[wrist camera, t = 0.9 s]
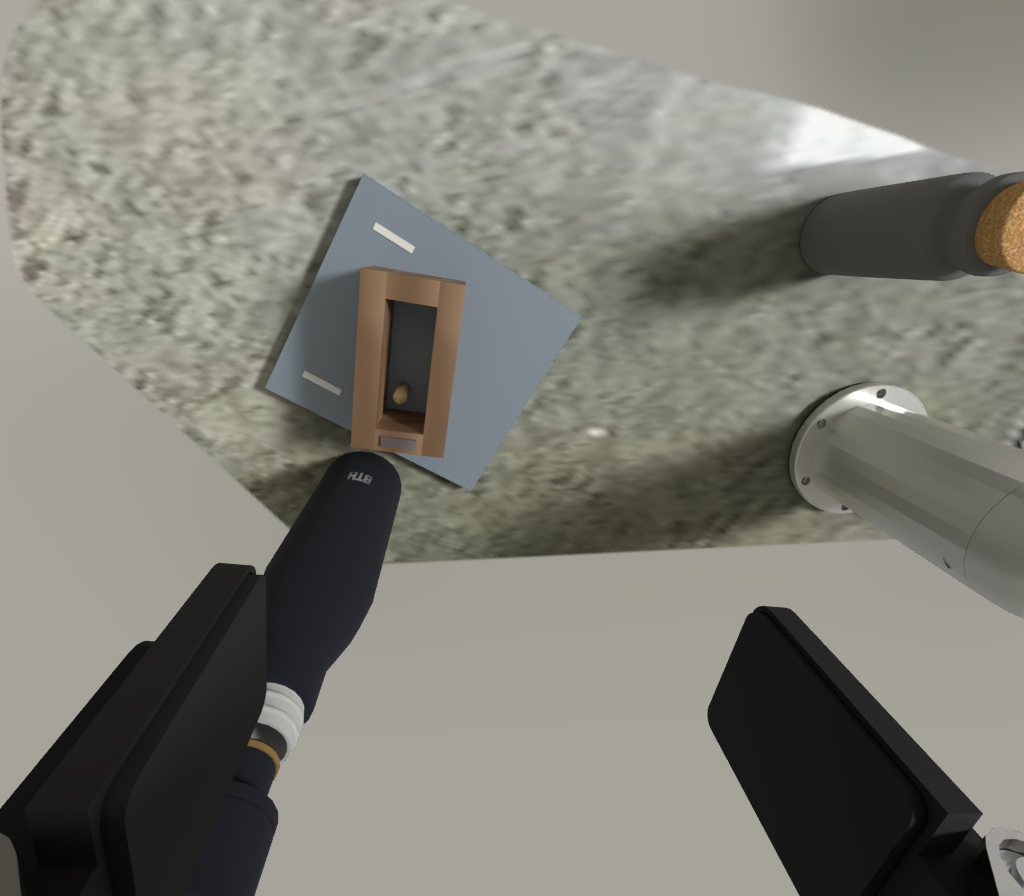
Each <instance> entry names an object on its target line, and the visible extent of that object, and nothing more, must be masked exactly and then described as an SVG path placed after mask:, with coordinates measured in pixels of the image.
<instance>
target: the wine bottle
mask: <svg viewBox="0 0 1024 896" xmlns="http://www.w3.org/2000/svg"><path fill="white" fill-rule="evenodd" d="M400 494H401V481H400V477H399V474H398V473H397V471H396V470H395V468H394V467H393V465H392V464H391V463H389V462H388V461H387V460H386V459H384V458H383V457H381V456H378V455H376V454H374V453H369V452H361V451H359V452H353V453H348V454H346V455H344V456H342V457H340V458H338V459H337V460H336V461H335V462H334V463H333V464H332V465H331V466H330V467H329V469H328V470H327V472H326V473H325V475H324V477H323V478H322V480H321V481H320V483H319V485H318V486H317V488H316V489H315V491H314V493H313V494H312V496H311V497H310V499H309V501H308V502H307V504H306V505H305V507H304V509H303V510H302V512H301V513H300V515H299V516H298V518H297V520H296V521H295V523H294V524H293V526H292V528H291V529H290V531H289V532H288V534H287V536H286V537H285V539H284V540H283V542H282V544H281V545H280V547H279V548H278V550H277V552H276V553H275V555H274V557H273V558H272V560H271V561H270V563H269V564H268V566H267V568H266V570H265V573H264V576H265V578H266V650H267V692H266V698H265V703H264V706H263V709H262V712H261V715H260V717H259V719H258V722H257V724H256V726H255V729H254V731H253V733H252V736H251V738H250V740H249V743H248V745H247V747H246V750H245V752H244V754H243V757H242V759H241V761H240V764H239V766H238V768H237V771H236V773H235V775H234V778H233V780H232V782H231V785H230V787H229V789H228V792H227V794H226V796H225V799H224V801H223V803H222V806H221V808H220V810H219V813H218V815H217V817H216V820H215V822H214V824H213V827H212V829H211V831H210V834H209V836H208V838H207V841H206V843H205V845H204V848H203V850H202V852H201V855H200V857H199V859H198V862H197V864H196V866H195V869H194V871H193V873H192V876H191V878H190V880H189V883H188V885H187V887H186V890H185V892H184V894H183V896H254V895H255V892H256V889H257V886H258V883H259V880H260V877H261V874H262V870H263V868H264V864H265V862H266V858H267V855H268V852H269V849H270V846H271V843H272V840H273V836H274V834H275V831H276V827H277V825H278V811H277V809H276V807H275V805H274V803H273V801H272V800H271V799H270V798H269V797H268V796H267V795H268V793H269V790H270V787H271V784H272V782H273V780H274V779H275V777H276V775H277V773H278V771H279V768H280V764H281V763H283V762H284V761H285V760H286V759H287V757H288V755H289V753H290V752H291V751H292V750H293V749H294V748H295V746H296V744H297V742H298V737H299V733H300V731H301V729H302V727H303V725H304V724H305V723H306V722H307V721H308V720H309V718H310V716H311V714H312V712H313V710H314V707H315V704H316V701H317V698H318V695H319V692H320V689H321V686H322V683H323V680H324V677H325V674H326V671H327V670H328V669H329V668H330V667H331V665H332V664H333V663H334V662H335V661H336V660H337V658H338V657H339V656H340V655H341V654H342V652H343V651H344V650H345V649H346V648H347V646H348V645H349V644H350V642H351V641H352V639H353V638H354V636H355V635H356V633H357V631H358V630H359V628H360V626H361V624H362V622H363V620H364V618H365V616H366V614H367V613H368V611H369V608H370V607H371V605H372V603H373V599H374V594H375V591H376V587H377V583H378V579H379V575H380V572H381V568H382V564H383V560H384V556H385V553H386V549H387V545H388V541H389V537H390V533H391V529H392V526H393V522H394V518H395V514H396V510H397V506H398V503H399V499H400Z"/></svg>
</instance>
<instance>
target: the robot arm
mask: <svg viewBox="0 0 1024 896" xmlns="http://www.w3.org/2000/svg"><path fill="white" fill-rule="evenodd" d="M789 469H790V476H791V480H792V482H793V485H794V487H795V489H796V490H797V492H798V493H799V494H800V496H801V497H803V498H804V499H805V500H806V501H808V502H809V503H810V504H812V505H813V506H815V507H817V508H818V509H821V510H824V511H827V512H832V513H852V512H855V513H856V514H858V515H859V516H861V517H862V518H864V519H865V520H867V521H868V522H870V523H871V524H873V525H874V526H876V527H877V528H879V529H880V530H882V531H883V532H885V533H887V534H888V535H890V536H891V537H893V538H894V539H896V540H897V541H899V542H900V543H902V544H903V545H905V546H906V547H908V548H910V549H911V550H913V551H914V552H915V553H917V554H918V555H920V556H921V557H923V558H925V559H926V560H928V561H929V562H931V563H932V564H934V565H935V566H937V567H938V568H940V569H942V570H943V571H944V572H946V573H947V574H949V575H951V576H952V577H953V578H955V579H957V580H958V581H959V582H961V583H962V584H964V585H966V586H967V587H969V588H970V589H972V590H973V591H975V592H976V593H978V594H980V595H981V596H983V597H984V598H986V599H987V600H989V601H990V602H992V603H993V604H995V605H997V606H998V607H1000V608H1002V609H1004V610H1005V611H1008V612H1009V613H1012V614H1014V615H1016V616H1019V617H1021V618H1024V450H1022V449H1019V448H1016V447H1014V446H1011V445H1008V444H1005V443H1002V442H999V441H996V440H993V439H991V438H988V437H985V436H982V435H979V434H976V433H973V432H970V431H968V430H965V429H962V428H959V427H956V426H953V425H950V424H948V423H945V422H942V421H939V420H936V419H933V418H930V417H928V416H927V412H926V410H925V408H924V406H923V404H922V402H921V401H920V400H919V399H918V398H917V397H916V396H915V395H914V394H913V393H911V392H909V391H908V390H906V389H904V388H901V387H898V386H895V385H892V384H887V383H881V382H872V383H863V384H859V385H855V386H851V387H849V388H847V389H844V390H842V391H840V392H838V393H836V394H835V395H833V396H831V397H830V398H828V399H827V400H826V401H824V402H823V403H822V404H821V405H820V406H818V407H817V408H816V409H815V410H814V411H813V412H812V414H811V415H810V416H809V417H808V418H807V419H806V421H805V422H804V424H803V425H802V427H801V428H800V430H799V431H798V434H797V436H796V438H795V440H794V442H793V446H792V449H791V453H790V462H789ZM266 692H267V650H266V578H265V576H264V575H256V570H255V568H254V567H253V566H251V565H239V564H226V563H218V564H216V565H215V566H214V567H213V568H212V569H211V570H210V571H209V573H208V574H207V575H206V576H205V578H204V579H203V580H202V582H201V583H200V584H199V585H198V587H197V588H196V589H195V591H194V592H193V593H192V594H191V596H190V597H189V598H188V600H187V601H186V602H185V603H184V605H183V606H182V607H181V608H180V610H179V611H178V612H177V614H176V615H175V616H174V617H173V619H172V620H171V621H170V623H169V624H168V625H167V626H166V628H165V629H164V630H163V632H162V633H161V634H160V635H159V637H158V638H157V639H156V641H143V642H141V643H139V644H137V645H136V646H135V647H134V648H133V649H132V650H131V651H130V652H129V653H128V654H127V656H126V657H125V658H124V659H123V660H122V662H121V663H120V664H119V665H118V667H117V668H116V669H115V670H114V671H113V673H112V674H111V675H110V676H109V678H108V679H107V680H106V681H105V682H104V683H103V685H102V686H101V687H100V688H99V690H98V691H97V692H96V693H95V694H94V696H93V697H92V698H91V699H90V701H89V702H88V703H87V704H86V705H85V707H84V708H83V709H82V710H81V711H80V713H79V714H78V715H77V716H76V718H75V719H74V720H73V721H72V722H71V724H70V725H69V726H68V727H67V728H66V730H65V731H64V732H63V733H62V735H61V736H60V737H59V738H58V739H57V741H56V742H55V743H54V744H53V745H52V747H51V748H50V749H49V750H48V752H47V753H46V754H45V755H44V757H43V758H42V759H41V760H40V761H39V762H38V764H37V765H36V766H35V767H34V769H33V770H32V771H31V772H30V773H29V775H28V776H27V777H26V778H25V780H24V781H23V782H22V783H21V784H20V785H19V787H18V788H17V789H16V790H15V792H14V793H13V794H12V795H11V797H10V798H9V799H8V800H7V801H6V802H5V804H4V805H3V806H2V807H1V809H0V896H183V894H184V892H185V890H186V887H187V885H188V883H189V880H190V878H191V876H192V873H193V871H194V869H195V866H196V864H197V862H198V859H199V857H200V855H201V852H202V850H203V848H204V845H205V843H206V841H207V838H208V836H209V834H210V831H211V829H212V827H213V824H214V822H215V820H216V817H217V815H218V813H219V810H220V808H221V806H222V803H223V801H224V799H225V796H226V794H227V792H228V789H229V787H230V785H231V782H232V780H233V778H234V775H235V773H236V771H237V768H238V766H239V764H240V761H241V759H242V757H243V754H244V752H245V750H246V747H247V745H248V743H249V740H250V738H251V736H252V733H253V731H254V729H255V726H256V724H257V722H258V719H259V717H260V715H261V712H262V709H263V706H264V703H265V698H266ZM708 722H709V725H710V728H711V730H712V732H713V734H714V736H715V738H716V739H717V741H718V743H719V745H720V747H721V749H722V751H723V753H724V755H725V756H726V758H727V760H728V762H729V764H730V766H731V768H732V770H733V771H734V773H735V775H736V777H737V779H738V781H739V783H740V784H741V786H742V788H743V790H744V792H745V794H746V796H747V798H748V800H749V801H750V803H751V805H752V807H753V809H754V811H755V813H756V815H757V817H758V818H759V820H760V822H761V824H762V826H763V827H764V830H765V832H766V833H767V835H768V837H769V839H770V841H771V843H772V845H773V847H774V848H775V850H776V852H777V854H778V856H779V858H780V860H781V861H782V864H783V865H784V867H785V869H786V871H787V873H788V875H789V877H790V878H791V880H792V882H793V884H794V886H795V888H796V890H797V892H798V894H799V896H1024V834H1023V833H1021V832H1019V831H1015V830H1012V829H1007V828H1003V827H1001V828H992V829H991V830H990V831H989V832H988V833H987V834H986V835H985V837H984V838H983V839H982V838H981V837H980V836H979V835H978V834H977V833H976V831H975V830H974V829H973V828H972V827H973V826H974V825H975V823H976V822H977V821H978V820H979V818H980V817H981V815H982V814H983V813H982V812H981V811H980V810H979V809H978V808H977V807H976V806H975V805H974V804H973V803H972V802H971V801H970V799H969V798H968V797H967V796H966V795H965V794H964V793H963V792H962V791H961V790H960V789H959V788H958V787H957V786H956V785H955V783H954V782H953V781H952V780H951V779H950V778H949V777H948V776H947V775H946V774H945V773H944V772H943V771H942V770H941V768H940V767H938V765H937V764H935V762H934V761H933V760H932V759H931V758H930V757H929V756H928V755H927V754H926V752H925V751H924V750H923V749H922V748H921V747H920V746H919V745H918V744H917V743H916V742H915V741H914V740H913V739H912V737H911V736H909V734H908V733H907V732H906V731H905V730H904V729H903V728H902V727H901V726H900V725H899V724H898V723H897V721H896V720H895V719H894V718H893V717H892V716H891V715H890V714H889V713H888V712H887V711H886V710H885V709H884V708H883V707H882V706H881V705H880V703H879V702H878V701H877V700H876V699H875V698H874V697H873V696H872V695H871V694H870V693H869V692H868V691H867V689H866V688H865V687H864V686H863V685H862V684H861V683H860V682H859V681H858V680H857V679H856V678H855V677H854V676H853V674H852V673H851V672H850V671H849V670H848V669H847V668H846V667H845V666H844V665H843V664H842V663H841V662H840V661H839V660H838V658H837V657H836V656H835V655H834V654H833V653H832V652H831V651H830V650H829V649H828V648H827V647H826V646H825V645H824V644H823V642H821V640H820V639H819V638H818V637H817V636H816V635H815V634H814V633H813V632H812V631H811V630H810V629H809V628H808V626H807V625H806V624H805V623H804V622H803V621H802V620H801V619H800V618H799V617H798V616H797V615H796V614H795V613H794V612H793V611H792V610H791V609H788V608H782V607H769V606H759V607H757V608H756V609H755V610H754V611H753V613H750V614H749V615H748V616H747V618H746V620H745V622H744V624H743V627H742V629H741V631H740V634H739V636H738V639H737V641H736V643H735V646H734V648H733V650H732V653H731V655H730V657H729V660H728V662H727V664H726V667H725V669H724V672H723V674H722V676H721V679H720V681H719V683H718V686H717V688H716V690H715V693H714V695H713V698H712V700H711V703H710V705H709V707H708Z"/></svg>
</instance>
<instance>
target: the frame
mask: <svg viewBox="0 0 1024 896" xmlns="http://www.w3.org/2000/svg"><path fill="white" fill-rule="evenodd" d="M465 288H466V283H465V281H459V280H453V279H447V278H442V277H436V276H430V275H424V274H419V273H413V272H407V271H401V270H395V269H390V268H384V267H378V266H369V267H361V271H360V289H359V307H358V324H357V342H356V360H355V378H354V395H353V413H352V431H351V447H352V448H360V449H369V450H377V451H386V452H394V453H402V454H411V455H419V456H428V457H436V458H444V450H445V442H446V434H447V427H448V419H449V411H450V404H451V396H452V388H453V380H454V373H455V365H456V357H457V349H458V342H459V334H460V326H461V319H462V311H463V303H464V295H465ZM395 300H396V301H403V302H409V303H415V304H421V305H427V306H433V307H438V308H437V317H436V326H435V335H434V344H433V353H432V362H431V371H430V380H429V389H428V398H427V407H426V413H420V412H413V411H405V410H397V409H390V408H386V402H387V389H388V377H389V365H390V352H391V340H392V328H393V316H394V303H395Z"/></svg>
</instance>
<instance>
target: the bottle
mask: <svg viewBox="0 0 1024 896" xmlns="http://www.w3.org/2000/svg"><path fill="white" fill-rule="evenodd" d="M800 249H801V254H802V257H803V259H804V261H805V263H806V264H807V265H808V266H809V267H810V268H811V269H812V270H814V271H816V272H818V273H822V274H828V275H842V276H858V277H875V278H894V279H913V280H936V281H946V280H954V279H958V278H961V277H964V276H966V275H968V274H970V275H974V276H999V275H1003V274H1006V273H1008V272H1011V271H1014V272H1017V273H1022V274H1024V172H1015V173H1009V174H1004V175H1000V176H997V177H996V176H994V175H991V174H989V173H984V172H970V173H962V174H956V175H949V176H942V177H936V178H930V179H924V180H918V181H912V182H906V183H899V184H893V185H887V186H881V187H875V188H869V189H863V190H857V191H851V192H846V193H841V194H837V195H834V196H831V197H829V198H827V199H826V200H824V201H822V202H821V203H820V204H819V205H818V206H817V207H816V208H815V209H814V210H813V211H812V212H811V214H810V215H809V217H808V218H807V220H806V222H805V224H804V227H803V230H802V233H801V238H800Z"/></svg>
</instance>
